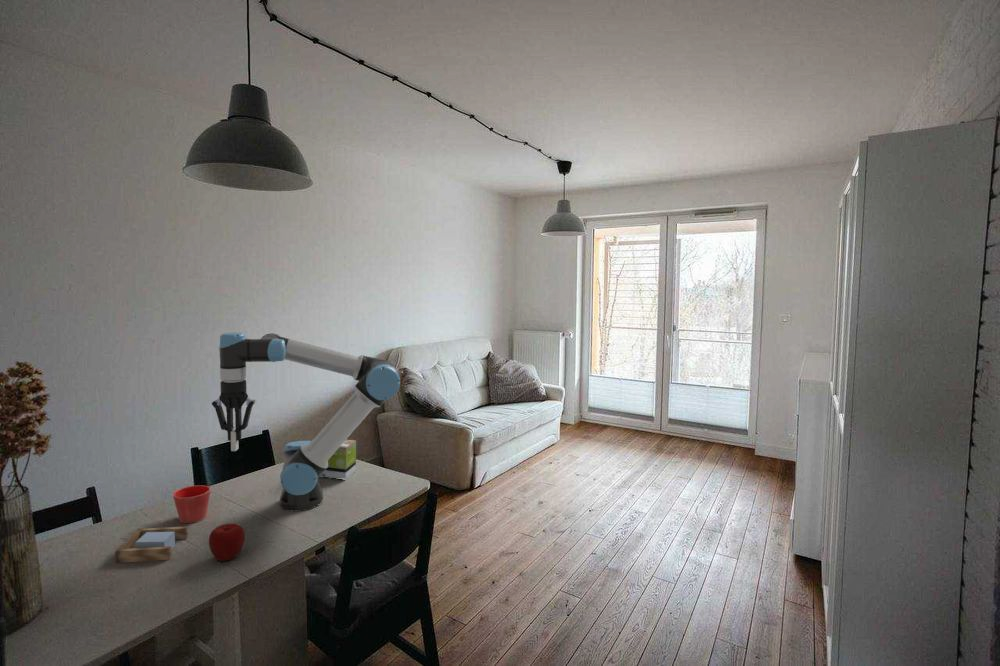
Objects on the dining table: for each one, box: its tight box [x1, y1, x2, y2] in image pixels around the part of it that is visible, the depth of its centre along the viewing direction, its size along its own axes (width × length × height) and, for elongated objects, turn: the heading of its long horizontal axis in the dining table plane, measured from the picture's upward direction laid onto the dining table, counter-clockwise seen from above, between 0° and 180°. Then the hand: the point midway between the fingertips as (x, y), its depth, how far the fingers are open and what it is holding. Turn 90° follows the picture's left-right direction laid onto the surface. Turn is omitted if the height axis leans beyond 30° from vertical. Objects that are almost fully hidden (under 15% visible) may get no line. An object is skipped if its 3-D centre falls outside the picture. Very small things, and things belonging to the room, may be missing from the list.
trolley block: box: [135, 532, 176, 549], centre depth 156 cm, size 8×7×4 cm
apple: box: [208, 522, 246, 562], centre depth 153 cm, size 10×10×10 cm
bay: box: [114, 526, 189, 564], centre depth 157 cm, size 14×13×4 cm
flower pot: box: [172, 484, 212, 524], centre depth 176 cm, size 11×11×10 cm
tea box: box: [319, 438, 357, 479], centre depth 218 cm, size 15×10×15 cm
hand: (234, 449), depth 170 cm, fingers closed
